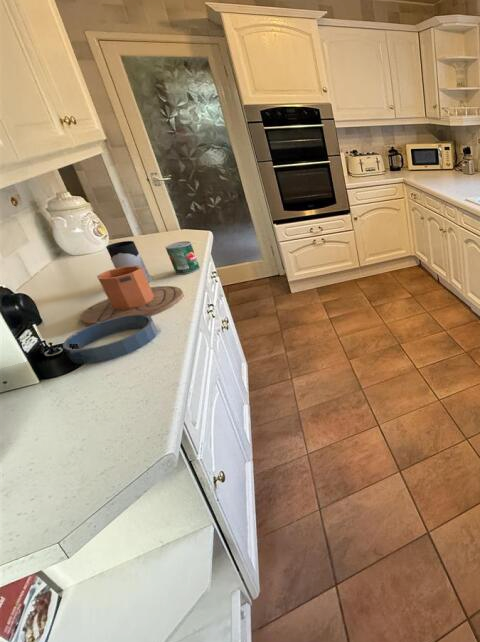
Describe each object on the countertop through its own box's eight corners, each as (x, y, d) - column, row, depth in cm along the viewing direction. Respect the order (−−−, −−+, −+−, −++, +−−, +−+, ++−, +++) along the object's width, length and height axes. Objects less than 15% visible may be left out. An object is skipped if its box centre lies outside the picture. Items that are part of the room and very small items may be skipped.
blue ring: (54, 373, 98) (43, 354, 96) (103, 335, 113) (95, 319, 111) (135, 362, 101) (126, 344, 99) (172, 327, 117) (165, 311, 114)
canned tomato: (173, 271, 156) (162, 245, 152) (197, 265, 162) (187, 239, 157) (178, 276, 152) (167, 249, 147) (202, 269, 157) (193, 243, 153)
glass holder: (118, 288, 142) (100, 250, 136) (129, 275, 154) (112, 239, 148) (149, 283, 146) (132, 245, 140) (157, 270, 158) (142, 234, 151)
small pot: (159, 302, 128) (145, 271, 123) (118, 315, 120) (102, 282, 116) (148, 291, 135) (135, 262, 131) (109, 303, 128) (93, 272, 123)
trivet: (77, 338, 112) (73, 332, 112) (88, 306, 130) (85, 301, 129) (185, 309, 127) (183, 304, 126) (182, 284, 145) (181, 279, 144)
